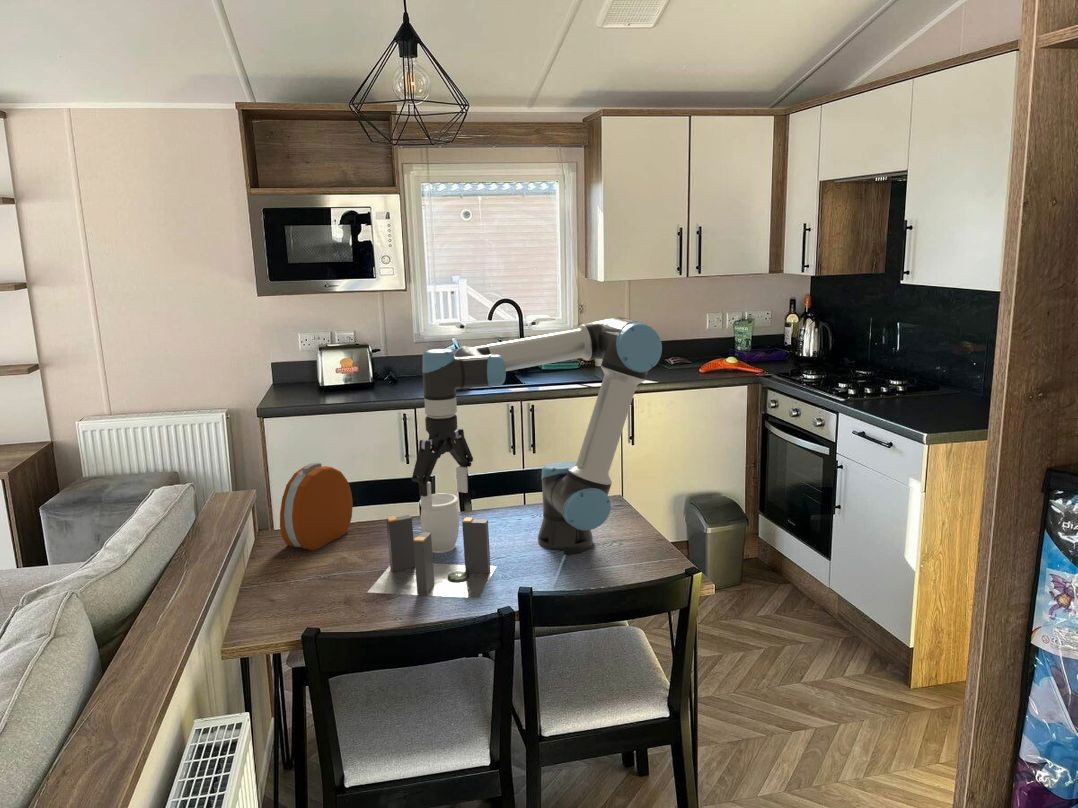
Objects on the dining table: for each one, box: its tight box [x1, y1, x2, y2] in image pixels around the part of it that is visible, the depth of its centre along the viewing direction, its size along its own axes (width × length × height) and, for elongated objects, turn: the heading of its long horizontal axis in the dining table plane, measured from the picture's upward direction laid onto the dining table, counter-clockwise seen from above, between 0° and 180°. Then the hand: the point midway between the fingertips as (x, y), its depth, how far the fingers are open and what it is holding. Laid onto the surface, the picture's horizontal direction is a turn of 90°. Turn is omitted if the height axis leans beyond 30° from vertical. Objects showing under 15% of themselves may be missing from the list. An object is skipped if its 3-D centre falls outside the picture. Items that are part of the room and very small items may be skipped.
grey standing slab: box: [413, 531, 435, 596], centre depth 197 cm, size 6×2×14 cm, turn 170°
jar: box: [419, 492, 460, 554], centre depth 223 cm, size 11×10×15 cm
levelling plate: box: [367, 563, 497, 599], centre depth 204 cm, size 28×18×2 cm, turn 79°
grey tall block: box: [385, 514, 415, 572], centre depth 210 cm, size 6×2×14 cm, turn 115°
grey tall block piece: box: [461, 516, 491, 573], centre depth 206 cm, size 6×2×14 cm, turn 79°
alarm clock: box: [279, 462, 354, 551], centre depth 234 cm, size 22×10×23 cm, turn 153°
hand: (445, 499), depth 198 cm, fingers open, 13 cm apart
